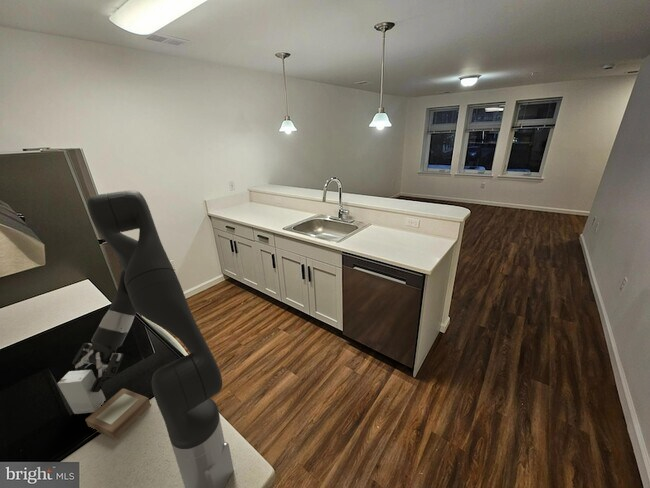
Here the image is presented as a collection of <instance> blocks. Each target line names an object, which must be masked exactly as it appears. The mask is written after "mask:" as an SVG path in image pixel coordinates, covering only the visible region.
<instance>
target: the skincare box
mask: <svg viewBox="0 0 650 488" xmlns="http://www.w3.org/2000/svg"><path fill="white" fill-rule="evenodd" d="M96 378H97V377H96V376H95V374H94V371H93V369H86V370H81V371H75V370H71V371H70V370H69V371H68V372H67V373H66V374H65V375H64V376H63V377H62V378H60V380H59V381H58V382H57V386H58V388H59V389H60V391H61V393H62V394H63V397H64V398H65V400H66V402H67V404H68V406H69V407H70V409H71V411H72V412H73V414H74V415H76V414H77V415H79V414H88V413H89V414H90V413H91V414H92V413H94V412H95V411H96V410H97V409H99V408H100V407H101V405H103V404H105V402H106V399H107V398H106V397H105V394H104V392H103V390H102V389H101V390H100V391H99V392H90V390H91V388H92V386H93V384H94V382H95V380H96ZM104 401H105V402H104Z"/></svg>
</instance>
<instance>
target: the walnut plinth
mask: <svg viewBox="0 0 650 488" xmlns="http://www.w3.org/2000/svg"><path fill="white" fill-rule="evenodd" d="M151 406H152V404H151V402H150V398H149V397H147V396H144V395H142V394H139V393H136V392H134V391H132V390H129V389H126V388H121V389H120V390H119V391H118V392H116V393H115V394H114V395H113V396H112V397H111V398H109V399H108V400H107V401H105V402H104V403H103V404H102V406H101V407H100V408H99V409H97V410H96V411H95V412H92V413H91V414H90V415H89V416H88V417H86V418H85V419H84V420H85V422H86V425H87V427H88V428H89V427H91V428H93V429H96V430H97V431H96V432H98V433H99V434H102V435H104V436H106V437H109V438H110V439H113V440H114V441H116V440H118V439H119V438H120V436H121V435H123V433H125V431H127V430H128V429H129V428H130V427H131V426H132V425H133V424H134V423H135V422H136V421H137V420H138V419H139V418H140V416H142V415H143V414H144V413H145V412H146V411H147V410H148V409H149V408H150V407H151ZM91 428H90V429H91ZM93 429H92V430H93Z"/></svg>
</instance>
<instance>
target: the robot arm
mask: <svg viewBox="0 0 650 488" xmlns="http://www.w3.org/2000/svg"><path fill="white" fill-rule="evenodd" d="M87 208H88V212H89V216H90V218H91V220H92V223H93V225H94V226H95V228H96V230H97V231H98V233H99V235H101V237H102V238H103V239H104V241H105V243H106V244H107V245H108V246H109V248H110V249H111V250H112V251H113V252H114V254H115V255H116V258H117V259H118V261H119V263H120V266H121V268H122V269H121V271H120V275H119V281H118V286H117V289H116V293H115V297H114V298H113V301H112V303H111V305H110V306H109V308H108V310H107V312H106V313H105V315H103V317H102V319H101V321H100V323H99V325H98V326H97V328H96V330H95V332H94V334H93V336H92V338H91V343H90V342H84V343H82V345H81V347H80V348H79V350H78V352H77V353H76V355H75V357H74V359H73V360H72V363H71V364H72V365H74V368H75V370H74V371H81V370H87V369H86V368H88V367H89V366H90V365H92V364H93V365H94V366H96V370H97V371H98V373H97V377H95V378H96V380H95V382H94V384H93V386H92V388H91V390H90V392H99V391H100V390H102V389H103V387H104V384H105V382H106V380H107V379H108V378H110V377H112V378H113V377H115V376H116V374H117V372H118V370H119V368H120V365H121V363H122V360H123V359H124V353H118V352H117V349H118V348H120V347H121V346H122V345H123V343H124V341H125V339H126V337H127V336H128V334H129V331H130V329H131V327H132V326H133V325H132V324H133V322H134V318H135V316H136V315H137V313H138V314H139V315H140V316H141V317H143V318H145V319H147V320H148V321H150V322H151V323H153V324H155V325H156V326H159V327H161V328H163V329H165V330H166V331H168V332H169V333H171V334H172V335H173V336H175V337H176V339H178V340H179V341H180V342H181V343H182V344H183V345H184V346H185V348H186V349H187V351H188V354H186V355H184V356H182V357H180V358H178V359H176V360H174V361H172V362H169V363H168V364H166V365H163V366H161V367H160V368H157V369H156V370H155V371H154V372H153V374H152V376H151V389H152V394H153V396H154V399H155V401H156V405H157V406H158V409H159V412H160V414H161V416H162V419H163V422H164V423H165V426H166V430H167V435H168V438H169V441H170V444H171V447H172V450H173V454H174V457H175V460H176V464H177V467H178V469H179V473H180V476H181V479H182V483H183V486H184V488H225V487H226V485H227V483H228V482H229V479H230V477H231V475H232V474H233V473H234V465H233V459H232V455H231V450H230V443H229V442H226V440H225V437H224V433H223V426H222V423H221V417H220V413H219V412H220V411H219V408H218V405H217V402H216V401H214V400H213V399H212V398H213V397H214V396H216V395H218V394H219V393H221V391H222V389H223V377H222V373H221V371H220V368H219V366H218V363H217V360H216V359H215V357H214V355H213V353H212V351H211V349H210V347H209V345H208V343H207V342H206V340H205V338H204V336H203V334H202V332H201V329H200V328H199V326H198V324H197V322H196V320H195V318H194V315H193V314H192V311H191V308H190V306H189V304H188V301H187V298H186V295H185V294H184V293H185V292H184V291H183V288H182V285H181V283H180V280H179V278H178V277H177V276H178V275H177V274H176V271H175V269H174V267H173V265H172V263H171V261H170V258H169V257H168V255H167V252H166V251H165V248H164V246H163V244H162V241H161V238H160V236H159V233H158V229H157V228H156V224H155V221H154V219H153V216H152V213H151V210H150V208H149V205H148V203H147V201H146V199H145V197H144V196H143V194H142V193H141V192H140V191H138V190H136V189H135V190H133V189H132V190H129V189H128V190H123V191H121V190H120V191H114V192H107V193H101V194H96V195H93V196H90V197H89V198H88V200H87ZM133 230H139V233H138V240H136V239H135V238H133V237H130V236H128V235H126V234H123V232H124V233H125V232H130V231H133Z"/></svg>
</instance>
